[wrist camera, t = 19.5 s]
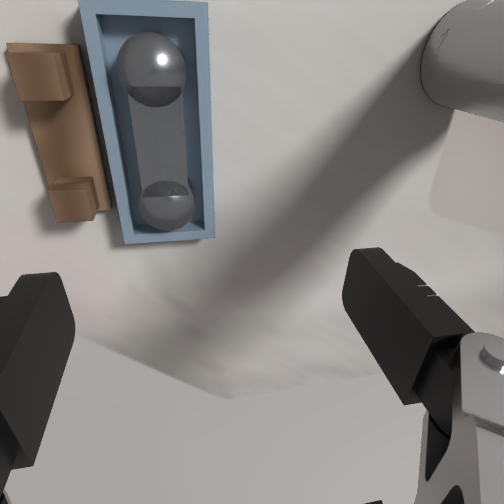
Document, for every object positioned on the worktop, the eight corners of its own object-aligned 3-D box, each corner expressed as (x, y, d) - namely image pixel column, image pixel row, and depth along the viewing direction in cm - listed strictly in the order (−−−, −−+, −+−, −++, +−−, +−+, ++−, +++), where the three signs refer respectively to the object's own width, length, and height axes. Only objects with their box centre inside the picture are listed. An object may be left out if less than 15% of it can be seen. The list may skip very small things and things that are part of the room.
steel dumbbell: (182, 33, 28) (183, 33, 25) (194, 213, 36) (196, 228, 33) (117, 31, 27) (110, 30, 24) (145, 215, 35) (142, 232, 33)
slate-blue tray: (205, 4, 28) (207, 2, 25) (212, 226, 38) (214, 238, 36) (84, -2, 26) (76, -5, 24) (127, 232, 37) (124, 244, 34)
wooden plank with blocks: (79, 44, 27) (66, 46, 24) (112, 206, 35) (105, 225, 31) (10, 42, 26) (-14, 44, 23) (58, 209, 34) (46, 228, 31)
